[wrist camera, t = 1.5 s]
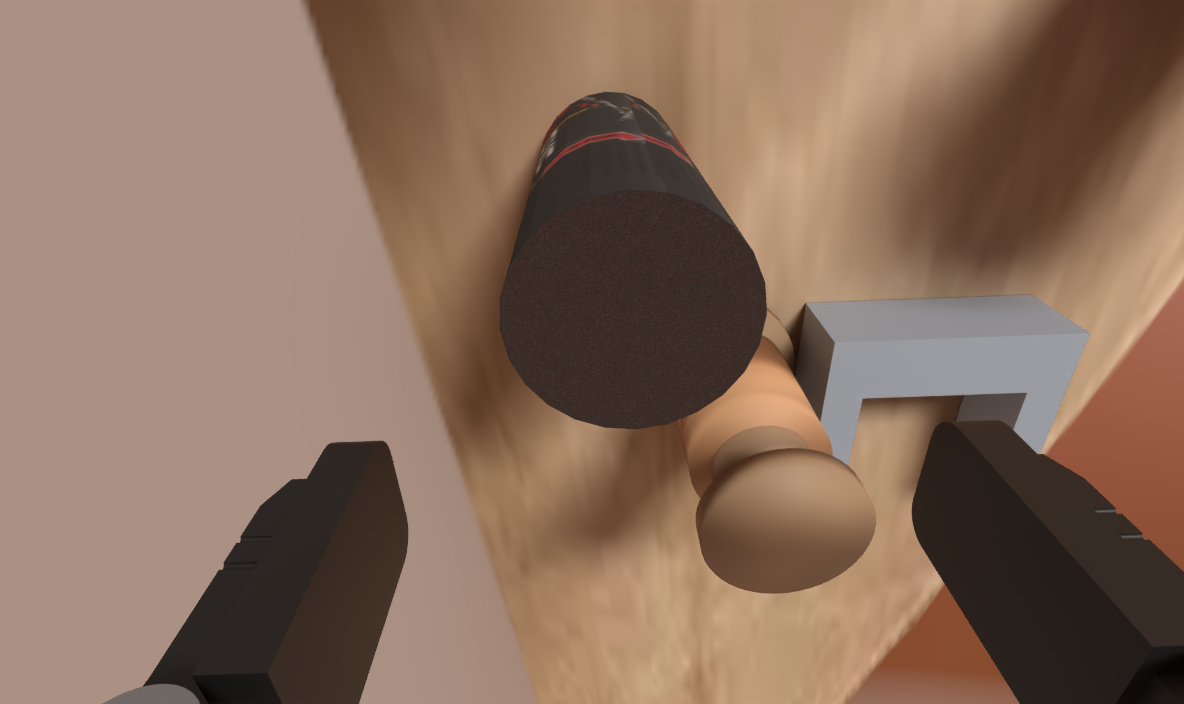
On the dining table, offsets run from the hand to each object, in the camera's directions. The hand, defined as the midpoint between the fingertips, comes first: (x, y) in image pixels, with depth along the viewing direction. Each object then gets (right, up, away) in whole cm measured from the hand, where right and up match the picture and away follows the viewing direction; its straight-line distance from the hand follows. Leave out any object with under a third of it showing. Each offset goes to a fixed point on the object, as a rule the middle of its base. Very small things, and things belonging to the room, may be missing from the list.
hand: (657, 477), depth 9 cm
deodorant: (0, +10, +18) cm, 20 cm away
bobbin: (+6, +2, +22) cm, 23 cm away
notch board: (+15, +1, +23) cm, 28 cm away
